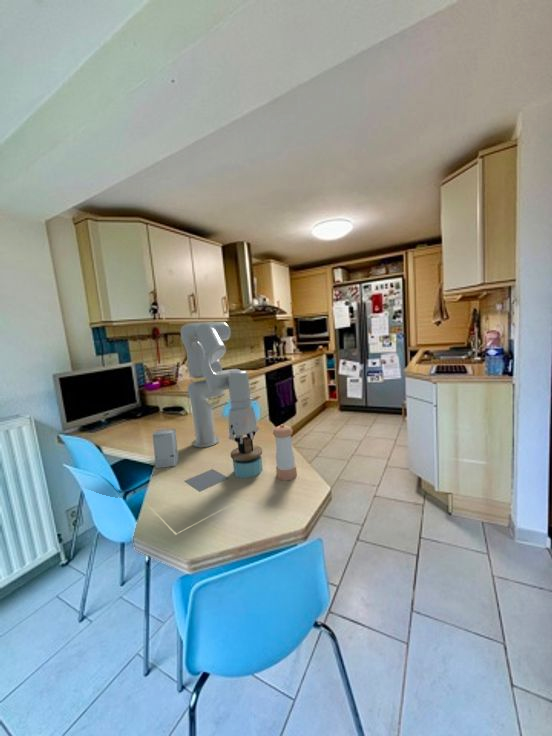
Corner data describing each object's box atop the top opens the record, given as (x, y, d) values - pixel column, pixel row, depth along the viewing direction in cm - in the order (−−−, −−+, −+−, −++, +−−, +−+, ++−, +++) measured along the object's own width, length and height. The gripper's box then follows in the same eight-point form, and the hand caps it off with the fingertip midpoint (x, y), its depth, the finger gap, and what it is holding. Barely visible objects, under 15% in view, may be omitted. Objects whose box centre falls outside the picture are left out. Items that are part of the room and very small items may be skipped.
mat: (184, 481, 113) (184, 480, 113) (212, 469, 121) (212, 469, 121) (199, 492, 104) (199, 491, 104) (229, 479, 112) (229, 478, 112)
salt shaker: (273, 474, 112) (268, 424, 110) (291, 468, 115) (286, 420, 113) (281, 482, 106) (276, 429, 103) (300, 476, 109) (295, 424, 106)
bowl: (228, 472, 117) (227, 459, 116) (250, 463, 124) (249, 450, 123) (245, 481, 109) (243, 466, 108) (268, 470, 116) (266, 456, 115)
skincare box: (155, 468, 127) (150, 434, 125) (160, 462, 133) (156, 429, 131) (176, 466, 127) (171, 432, 125) (180, 460, 133) (175, 427, 131)
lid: (224, 455, 116) (222, 440, 115) (249, 445, 124) (248, 431, 123) (243, 463, 107) (241, 447, 106) (268, 452, 115) (267, 437, 114)
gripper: (252, 398, 121) (256, 442, 123) (216, 407, 111) (222, 456, 113) (264, 400, 116) (268, 446, 118) (228, 410, 105) (233, 461, 107)
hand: (246, 450), depth 115 cm, fingers closed on lid, 3 cm apart
